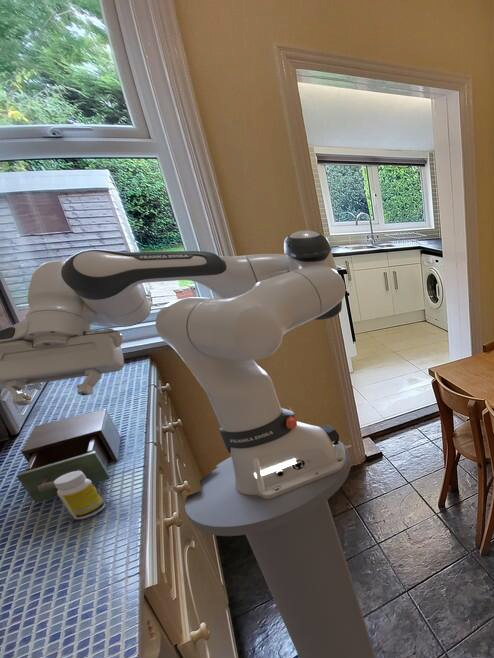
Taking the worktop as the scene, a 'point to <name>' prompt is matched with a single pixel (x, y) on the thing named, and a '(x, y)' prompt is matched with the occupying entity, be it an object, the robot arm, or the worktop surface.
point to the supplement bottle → (79, 495)
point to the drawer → (64, 466)
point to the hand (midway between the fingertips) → (53, 399)
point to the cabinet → (75, 433)
